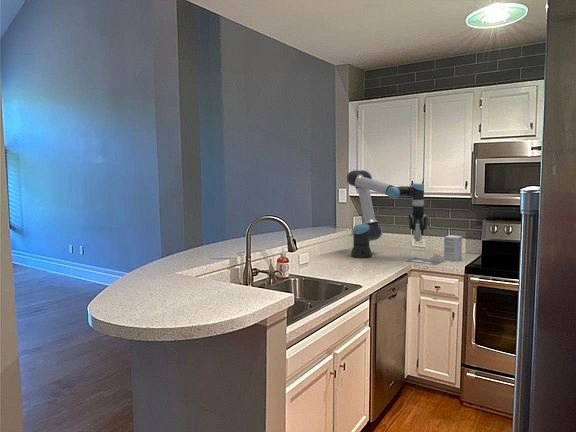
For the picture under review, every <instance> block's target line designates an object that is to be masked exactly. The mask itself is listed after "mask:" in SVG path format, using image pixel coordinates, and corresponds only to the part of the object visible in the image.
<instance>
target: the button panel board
mask: <svg viewBox="0 0 576 432" xmlns="http://www.w3.org/2000/svg"><path fill="white" fill-rule="evenodd" d="M405 262H407V263H414V264H424V265H432V266H437V265H439V264H440V265H441V264H442V263H445V262H446V260H444V255H440V257H434V255H431V256H430V258H419V257H413V258H409V259H408V260H407V259H406V260H404V263H405Z"/></svg>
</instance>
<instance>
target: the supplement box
mask: <svg viewBox="0 0 576 432" xmlns="http://www.w3.org/2000/svg"><path fill="white" fill-rule="evenodd" d="M443 239H444V240H443V256H444V261H450V262H460V261H462V259H463V258H462V257H463V256H462V255H463V236H462V235H451V234H450V235H446V236H444V238H443Z"/></svg>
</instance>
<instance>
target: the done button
mask: <svg viewBox="0 0 576 432" xmlns="http://www.w3.org/2000/svg"><path fill="white" fill-rule="evenodd" d="M433 256H434V257H440V256H441V253H439V252H435V253H434V255H433Z"/></svg>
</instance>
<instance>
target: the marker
mask: <svg viewBox="0 0 576 432" xmlns="http://www.w3.org/2000/svg"><path fill="white" fill-rule="evenodd" d="M420 230H421V229H420V223H416V225H415V242H421V240H419V238H420Z"/></svg>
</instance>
